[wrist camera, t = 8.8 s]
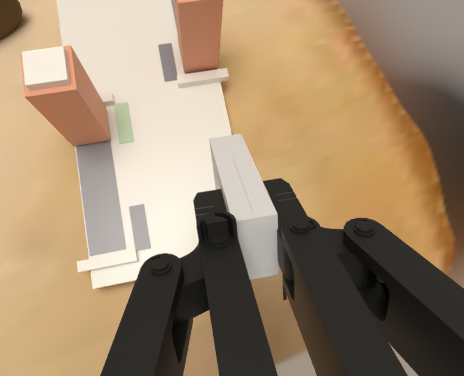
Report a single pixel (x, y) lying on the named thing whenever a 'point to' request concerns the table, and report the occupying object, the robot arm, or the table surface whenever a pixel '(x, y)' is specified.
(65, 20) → the white fixture board
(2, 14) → the kendama
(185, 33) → the orange rectangular block
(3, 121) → the table surface
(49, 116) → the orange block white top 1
